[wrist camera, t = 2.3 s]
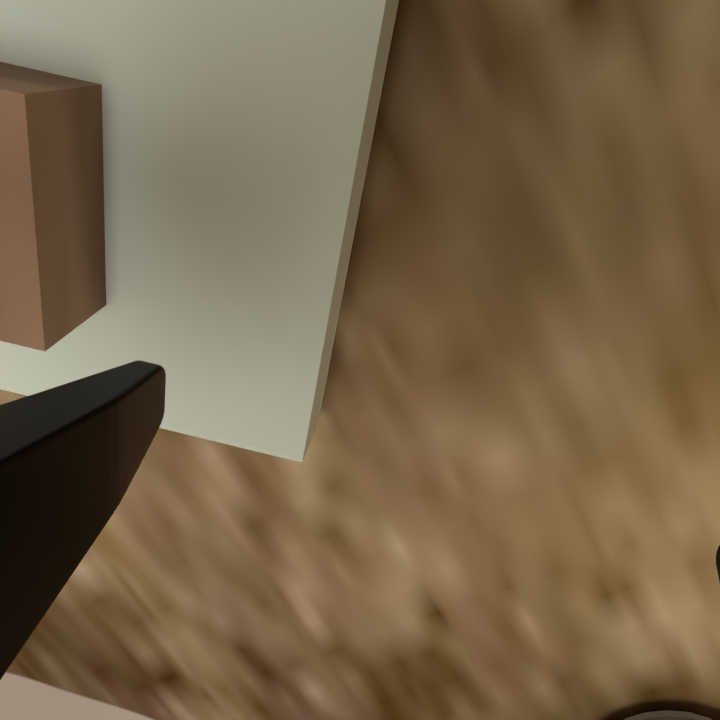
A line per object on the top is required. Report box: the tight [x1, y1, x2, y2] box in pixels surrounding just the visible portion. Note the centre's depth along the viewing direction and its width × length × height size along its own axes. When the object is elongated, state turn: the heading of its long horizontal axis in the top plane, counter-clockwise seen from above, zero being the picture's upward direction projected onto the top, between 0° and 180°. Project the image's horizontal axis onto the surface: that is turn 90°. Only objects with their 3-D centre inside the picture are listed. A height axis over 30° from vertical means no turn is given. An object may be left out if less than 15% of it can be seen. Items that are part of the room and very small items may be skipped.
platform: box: [0, 0, 399, 463], centre depth 17 cm, size 14×14×3 cm
